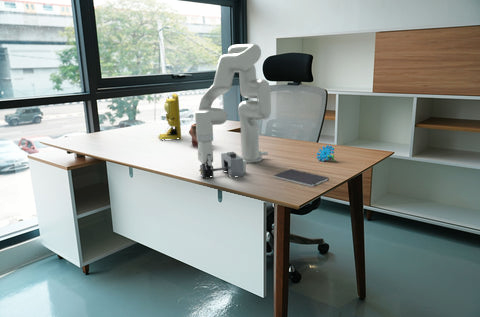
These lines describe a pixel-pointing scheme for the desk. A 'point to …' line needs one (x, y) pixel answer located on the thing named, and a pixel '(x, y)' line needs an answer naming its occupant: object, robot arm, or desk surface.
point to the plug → (202, 168)
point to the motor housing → (232, 163)
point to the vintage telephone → (172, 118)
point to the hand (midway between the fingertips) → (207, 175)
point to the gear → (326, 153)
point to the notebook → (301, 177)
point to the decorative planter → (193, 134)
